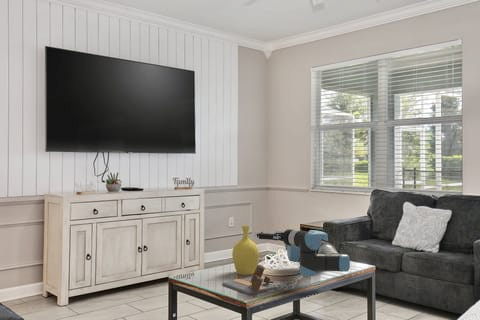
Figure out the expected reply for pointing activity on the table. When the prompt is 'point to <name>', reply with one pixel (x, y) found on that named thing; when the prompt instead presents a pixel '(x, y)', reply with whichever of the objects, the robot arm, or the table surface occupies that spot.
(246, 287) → the board
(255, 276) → the wooden block set
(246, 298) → the table surface
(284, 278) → the table surface
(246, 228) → the vase
